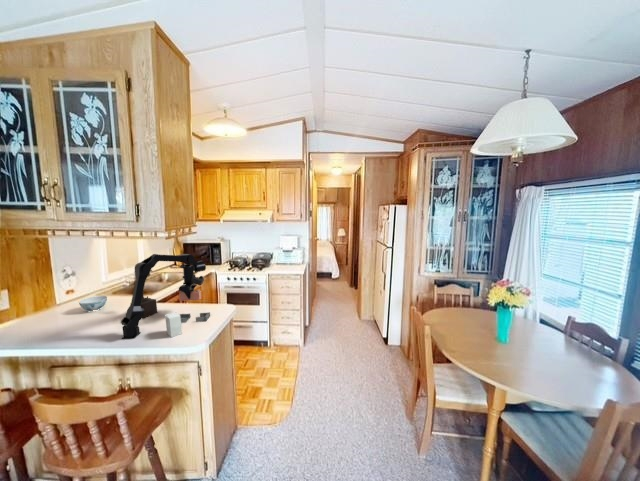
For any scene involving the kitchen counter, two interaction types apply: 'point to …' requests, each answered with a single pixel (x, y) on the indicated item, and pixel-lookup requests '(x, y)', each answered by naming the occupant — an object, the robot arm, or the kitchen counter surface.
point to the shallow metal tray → (202, 317)
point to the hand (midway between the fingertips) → (190, 297)
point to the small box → (173, 324)
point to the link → (194, 295)
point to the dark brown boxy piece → (148, 306)
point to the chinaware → (93, 303)
